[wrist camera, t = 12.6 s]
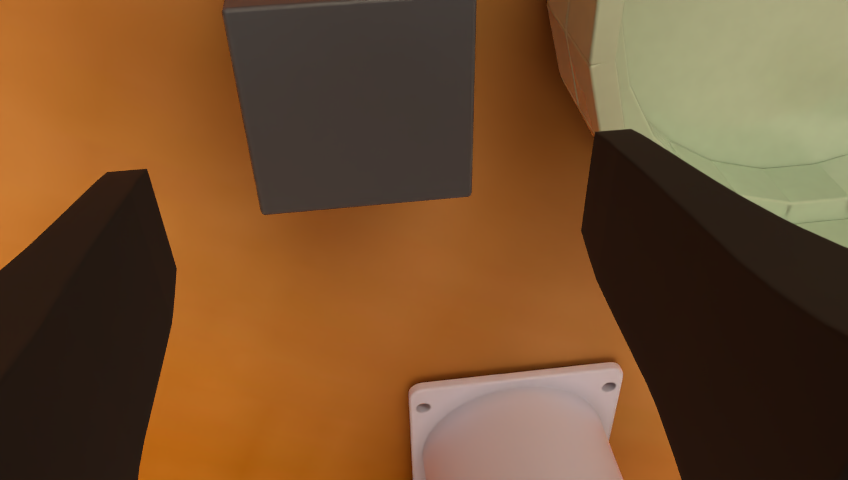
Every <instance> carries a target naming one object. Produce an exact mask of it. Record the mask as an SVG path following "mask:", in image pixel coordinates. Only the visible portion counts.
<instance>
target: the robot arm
mask: <svg viewBox="0 0 848 480" xmlns="http://www.w3.org/2000/svg"><path fill="white" fill-rule="evenodd" d="M581 231H582V235H583V238H584V241H585V245H586V248H587V252H588V255H589V258H590V261H591V264H592V267H593V270H594V273H595V276H596V280H597V282H598V284H599V286H600V288H601V290H602V292H603V295H604V297H605V299H606V301H607V303H608V305H609V307H610V309H611V311H612V313H613V316H614V318H615V320H616V322H617V324H618V326H619V328H620V330H621V332H622V334H623V336H624V338H625V340H626V342H627V344H628V346H629V348H630V350H631V352H632V354H633V356H634V359H635V361H636V363H637V365H638V367H639V369H640V371H641V373H642V375H643V377H644V379H645V381H646V383H647V385H648V388H649V390H650V392H651V395H652V397H653V399H654V402H655V404H656V407H657V409H658V412H659V415H660V418H661V421H662V423H663V426H664V429H665V432H666V435H667V438H668V440H669V443H670V446H671V449H672V452H673V455H674V457H675V461H676V464H677V467H678V470H679V473H680V476H681V479H682V480H848V248H847V247H844V246H842V245H839V244H837V243H835V242H833V241H830V240H828V239H826V238H824V237H822V236H819V235H817V234H815V233H813V232H810V231H808V230H806V229H804V228H801V227H799V226H797V225H795V224H793V223H791V222H789V221H787V220H785V219H783V218H781V217H779V216H777V215H776V214H774V213H772V212H770V211H768V210H766V209H764V208H763V207H761V206H759V205H757V204H755V203H753V202H752V201H750V200H748V199H746V198H744V197H743V196H741V195H739V194H737V193H736V192H734V191H732V190H731V189H729V188H727V187H726V186H724V185H722V184H721V183H719V182H717V181H716V180H714V179H712V178H711V177H709V176H708V175H706V174H704V173H703V172H701V171H700V170H698V169H696V168H695V167H693V166H692V165H690V164H688V163H687V162H685V161H684V160H682V159H681V158H679V157H677V156H676V155H674V154H673V153H671V152H670V151H668V150H666V149H665V148H663V147H662V146H660V145H659V144H657V143H655V142H654V141H652V140H650V139H649V138H647V137H645V136H644V135H642V134H640V133H638V132H636V131H634V130H633V129H622V130H610V131H598V132H595V135H594V142H593V149H592V157H591V164H590V171H589V178H588V185H587V193H586V200H585V207H584V214H583V222H582V229H581ZM176 270H177V268H176V265H175V262H174V258H173V255H172V251H171V248H170V245H169V241H168V238H167V235H166V231H165V228H164V225H163V221H162V218H161V215H160V211H159V208H158V204H157V201H156V198H155V194H154V191H153V188H152V184H151V181H150V178H149V174H148V171H147V169H140V170H128V171H116V172H107V173H106V174H104V175H103V176H102V177H101V178H100V179H99V180H97V181H96V182H95V183H94V184H93V185H92V186H91V187H90V188H89V189H88V190H87V191H86V192H85V193H84V194H83V195H82V196H81V197H80V198H79V199H78V200H76V201H75V202H74V203H73V204H72V205H71V206H70V207H69V208H68V209H67V210H66V211H65V212H64V213H63V214H62V215H61V216H60V217H59V218H58V219H57V220H56V221H55V222H54V223H53V224H52V225H50V226H49V227H48V228H47V229H46V230H45V231H44V232H43V233H42V234H41V235H40V236H39V237H38V238H37V239H36V240H35V241H34V242H33V243H31V244H30V245H29V246H28V247H27V248H26V249H25V250H24V251H22V252H21V253H20V254H19V255H18V256H17V257H15V258H14V259H13V260H12V261H11V262H10V263H8V264H7V265H6V266H5V267H4V268H3V269H1V270H0V480H138V474H139V466H140V461H141V455H142V450H143V445H144V439H145V435H146V431H147V427H148V423H149V418H150V414H151V410H152V406H153V402H154V398H155V393H156V389H157V385H158V381H159V377H160V373H161V368H162V364H163V360H164V356H165V351H166V347H167V343H168V338H169V334H170V329H171V325H172V318H173V308H174V298H175V284H176ZM622 379H623V372H622V369H621V367H620V366H619V364H617V363H615V362H605V363H596V364H587V365H578V366H569V367H559V368H550V369H541V370H532V371H523V372H514V373H505V374H495V375H486V376H477V377H468V378H459V379H450V380H441V381H431V382H422V383H418V384H415V385H414V386H412V387H411V388H410V389H409V393H408V394H409V415H410V435H411V456H412V476H413V480H623V478H622V475H621V473H620V470H619V468H618V465H617V462H616V460H615V457H614V454H613V452H612V449H611V446H610V444H609V438H610V433H611V429H612V424H613V420H614V415H615V411H616V406H617V402H618V397H619V393H620V388H621V383H622ZM423 403H425V404H423Z"/></svg>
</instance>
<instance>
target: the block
mask: <svg viewBox="0 0 848 480" xmlns="http://www.w3.org/2000/svg"><path fill="white" fill-rule="evenodd" d="M222 15H223V20H224V25H225V30H226V35H227V40H228V45H229V51H230V56H231V61H232V66H233V71H234V76H235V81H236V87H237V92H238V97H239V102H240V107H241V112H242V117H243V122H244V128H245V133H246V138H247V143H248V148H249V153H250V158H251V164H252V169H253V174H254V179H255V184H256V189H257V194H258V200H259V205H260V210H261V212H262V214H264V215H268V214H280V213H291V212H302V211H313V210H324V209H335V208H347V207H358V206H369V205H380V204H391V203H402V202H414V201H425V200H436V199H447V198H458V197H468V196H470V195H471V193H472V160H473V119H474V78H475V37H476V0H225V1H224V5H223V10H222Z"/></svg>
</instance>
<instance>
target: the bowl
mask: <svg viewBox="0 0 848 480" xmlns="http://www.w3.org/2000/svg"><path fill="white" fill-rule="evenodd" d="M546 1H547V9H548V14H549V19H550V25H551V30H552V35H553V41H554V46H555V51H556V57H557V62H558V67H559V73H560V75H561V78H562V81H563V83H564V84H565V86H566V88H567V90H568V92H569V94H570V96H571V97H572V99H573V101H574V103H575V105H576V107H577V109H578V110H579V112H580V114H581V116H582V118H583V120H584V122H585V123H586V125H587V127H588V129H589V131H590V133H591V134H592V136H593V138H594V135H595V132H598V131H610V130H622V129H633V130H634V131H636V132H638V133H640V134H642V135H644V136H645V137H647V138H649V139H650V140H652V141H654V142H655V143H657V144H659V145H660V146H662V147H663V148H665V149H666V150H668V151H670V152H671V153H673V154H674V155H676V156H677V157H679V158H681V159H682V160H684V161H685V162H687V163H688V164H690V165H692V166H693V167H695V168H696V169H698V170H700V171H701V172H703V173H704V174H706V175H708V176H709V177H711V178H712V179H714V180H716V181H717V182H719V183H721V184H722V185H724V186H726V187H727V188H729V189H731V190H732V191H734V192H736V193H737V194H739V195H741V196H743V197H744V198H746V199H748V200H750V201H752V202H753V203H755V204H757V205H759V206H761V207H763V208H764V209H766V210H768V211H770V212H772V213H774V214H776V215H777V216H779V217H781V218H783V219H785V220H787V221H789V222H791V223H793V224H795V225H797V226H799V227H801V228H804V229H806V230H808V231H810V232H813V233H815V234H817V235H819V236H822V237H824V238H826V239H828V240H830V241H833V242H835V243H837V244H839V245H842V246H844V247H847V248H848V0H546Z"/></svg>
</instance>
